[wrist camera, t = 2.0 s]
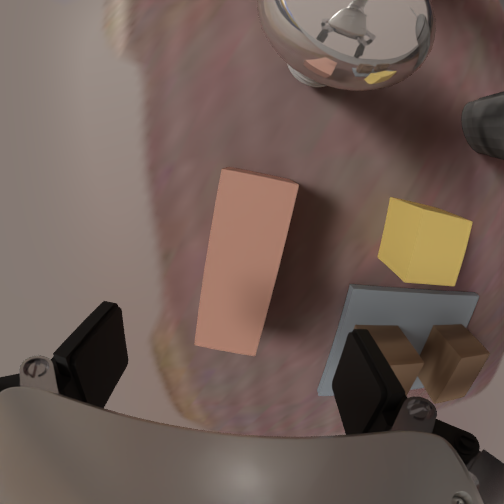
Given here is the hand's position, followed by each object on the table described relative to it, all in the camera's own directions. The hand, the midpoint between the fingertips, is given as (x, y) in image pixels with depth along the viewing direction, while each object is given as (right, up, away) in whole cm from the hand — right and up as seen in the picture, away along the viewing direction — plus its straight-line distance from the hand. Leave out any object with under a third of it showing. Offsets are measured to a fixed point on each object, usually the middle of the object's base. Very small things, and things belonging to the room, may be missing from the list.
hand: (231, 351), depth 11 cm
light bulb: (+5, +16, +5) cm, 17 cm away
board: (+14, -4, +11) cm, 19 cm away
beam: (0, +4, +9) cm, 10 cm away
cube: (+12, +5, +8) cm, 16 cm away
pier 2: (+18, -5, +11) cm, 22 cm away
